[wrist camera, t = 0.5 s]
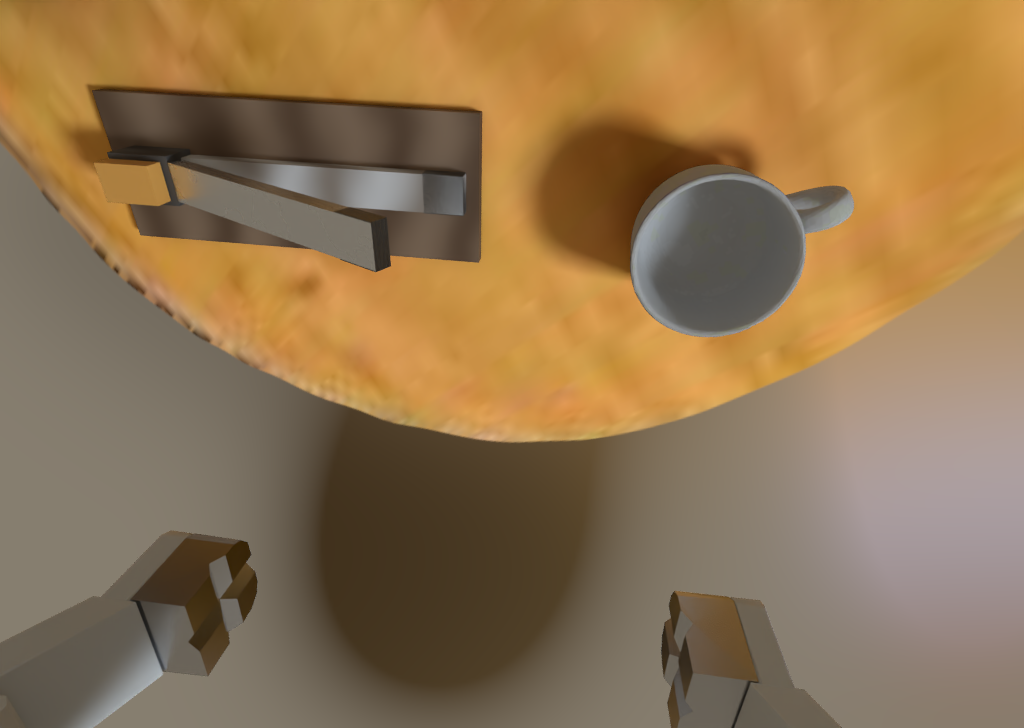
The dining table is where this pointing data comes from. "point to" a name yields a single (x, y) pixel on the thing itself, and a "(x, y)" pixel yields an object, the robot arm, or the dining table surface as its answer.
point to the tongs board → (311, 163)
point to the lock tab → (132, 182)
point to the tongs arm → (286, 214)
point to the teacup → (724, 247)
